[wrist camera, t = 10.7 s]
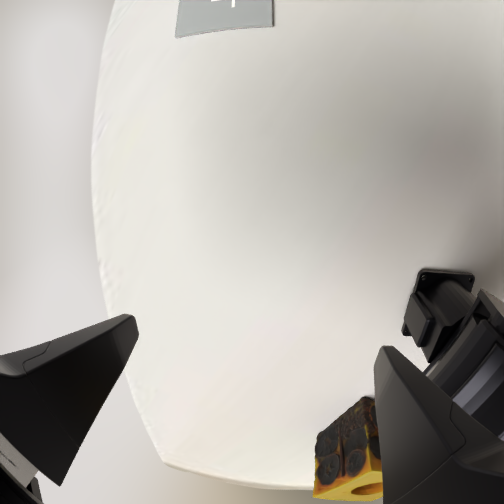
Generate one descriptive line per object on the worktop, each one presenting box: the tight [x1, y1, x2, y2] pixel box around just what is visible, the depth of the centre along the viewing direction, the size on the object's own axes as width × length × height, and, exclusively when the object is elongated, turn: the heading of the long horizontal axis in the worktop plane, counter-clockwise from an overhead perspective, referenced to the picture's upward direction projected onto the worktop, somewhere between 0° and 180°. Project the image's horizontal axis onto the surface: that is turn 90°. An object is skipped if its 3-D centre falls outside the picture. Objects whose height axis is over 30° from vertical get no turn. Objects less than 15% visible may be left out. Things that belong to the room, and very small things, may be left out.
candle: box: [313, 398, 383, 501], centre depth 22 cm, size 10×10×10 cm
